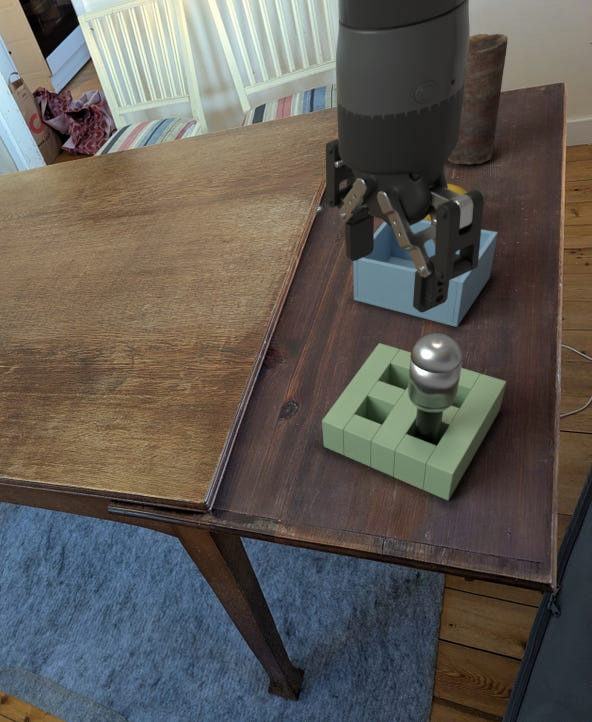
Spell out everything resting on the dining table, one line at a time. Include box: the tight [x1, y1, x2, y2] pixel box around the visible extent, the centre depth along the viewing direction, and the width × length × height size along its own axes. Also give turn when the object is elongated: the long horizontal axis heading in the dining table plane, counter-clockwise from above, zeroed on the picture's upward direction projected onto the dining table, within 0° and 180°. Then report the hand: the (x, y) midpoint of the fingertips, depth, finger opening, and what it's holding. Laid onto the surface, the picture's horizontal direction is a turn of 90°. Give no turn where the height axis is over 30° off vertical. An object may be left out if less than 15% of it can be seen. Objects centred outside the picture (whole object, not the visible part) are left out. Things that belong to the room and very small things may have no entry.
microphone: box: [408, 332, 464, 446], centre depth 62 cm, size 4×4×18 cm
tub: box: [352, 220, 499, 328], centre depth 84 cm, size 14×11×8 cm
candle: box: [447, 33, 508, 165], centre depth 99 cm, size 8×7×20 cm
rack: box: [321, 342, 507, 501], centre depth 70 cm, size 14×14×5 cm
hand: (391, 279), depth 50 cm, fingers open, 8 cm apart
